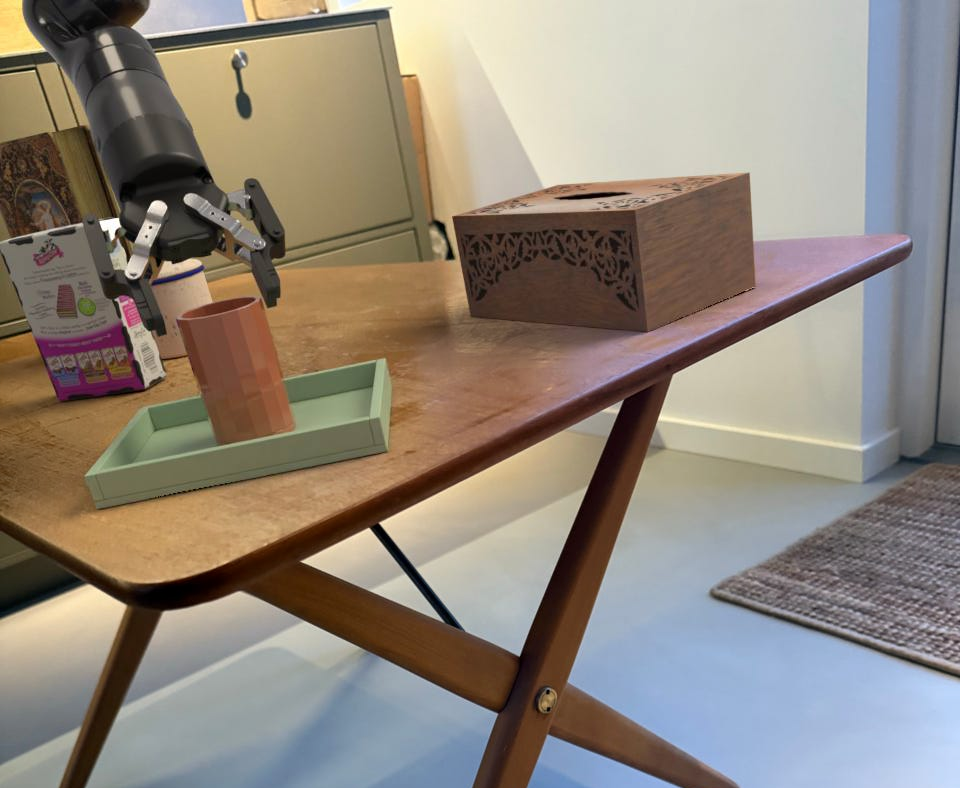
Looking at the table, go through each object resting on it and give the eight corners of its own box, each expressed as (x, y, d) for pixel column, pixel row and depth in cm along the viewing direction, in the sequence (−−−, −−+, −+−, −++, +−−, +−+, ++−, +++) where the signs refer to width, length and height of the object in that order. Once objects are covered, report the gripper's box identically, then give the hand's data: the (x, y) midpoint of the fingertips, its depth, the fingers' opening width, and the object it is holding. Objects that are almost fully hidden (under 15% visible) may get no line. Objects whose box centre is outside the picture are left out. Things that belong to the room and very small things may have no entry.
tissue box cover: (470, 316, 109) (451, 216, 104) (570, 280, 115) (557, 184, 110) (647, 331, 89) (635, 210, 85) (755, 287, 96) (749, 172, 91)
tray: (96, 509, 75) (83, 476, 73) (150, 436, 90) (140, 407, 89) (387, 451, 74) (379, 416, 72) (392, 387, 89) (385, 357, 88)
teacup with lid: (226, 333, 127) (196, 233, 121) (226, 347, 119) (194, 241, 113) (128, 356, 125) (94, 256, 120) (123, 371, 117) (85, 266, 112)
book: (50, 357, 134) (-30, 150, 122) (84, 345, 138) (10, 142, 126) (128, 356, 125) (50, 131, 113) (162, 342, 129) (90, 123, 117)
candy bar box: (170, 376, 110) (116, 214, 102) (147, 391, 106) (88, 223, 98) (82, 388, 114) (23, 232, 106) (56, 402, 109) (-7, 241, 101)
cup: (210, 455, 79) (168, 325, 74) (224, 430, 85) (185, 307, 80) (291, 439, 79) (254, 307, 74) (300, 415, 84) (265, 291, 80)
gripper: (239, 168, 86) (308, 322, 82) (67, 205, 82) (130, 369, 78) (232, 93, 79) (307, 258, 75) (44, 130, 76) (112, 306, 71)
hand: (217, 314), depth 77 cm, fingers open, 8 cm apart
